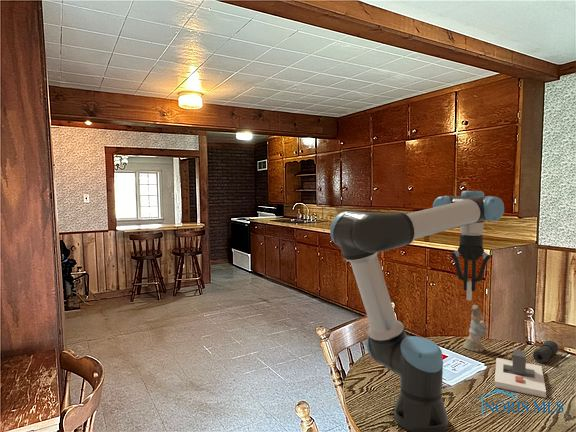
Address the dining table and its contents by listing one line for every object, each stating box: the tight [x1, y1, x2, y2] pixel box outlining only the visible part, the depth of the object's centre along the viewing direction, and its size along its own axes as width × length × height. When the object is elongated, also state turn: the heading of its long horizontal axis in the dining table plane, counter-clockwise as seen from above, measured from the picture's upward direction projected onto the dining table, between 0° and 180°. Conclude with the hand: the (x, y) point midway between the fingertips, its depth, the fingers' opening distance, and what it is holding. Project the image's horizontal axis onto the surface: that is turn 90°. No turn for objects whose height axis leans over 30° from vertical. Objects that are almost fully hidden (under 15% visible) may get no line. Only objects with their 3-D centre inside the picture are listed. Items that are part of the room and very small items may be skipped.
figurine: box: [462, 304, 489, 353], centre depth 167 cm, size 9×8×20 cm
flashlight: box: [532, 339, 560, 364], centre depth 158 cm, size 15×5×5 cm, turn 131°
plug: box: [512, 349, 527, 376], centre depth 143 cm, size 8×4×8 cm, turn 149°
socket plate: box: [493, 357, 547, 398], centre depth 141 cm, size 22×15×3 cm
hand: (469, 299), depth 139 cm, fingers closed
